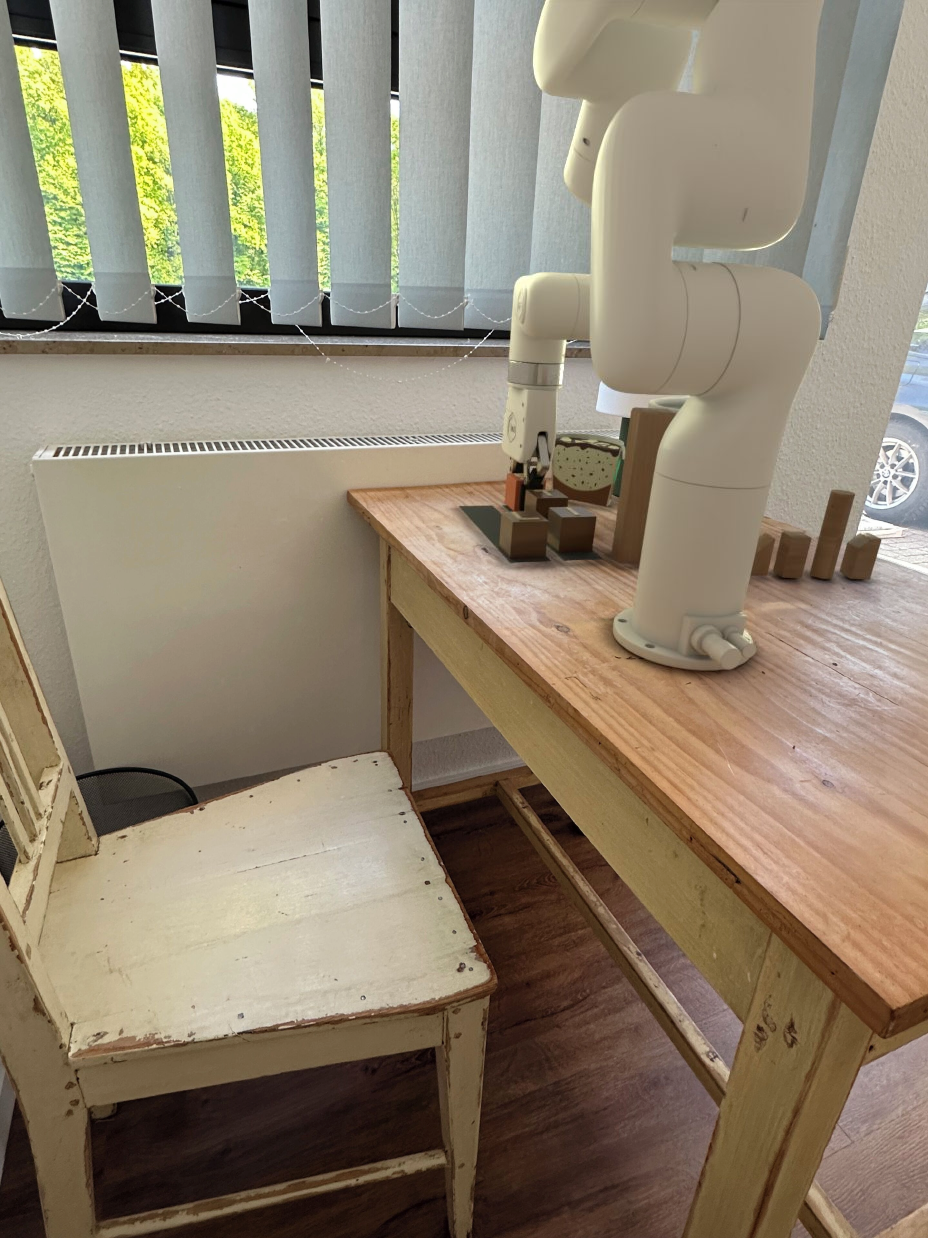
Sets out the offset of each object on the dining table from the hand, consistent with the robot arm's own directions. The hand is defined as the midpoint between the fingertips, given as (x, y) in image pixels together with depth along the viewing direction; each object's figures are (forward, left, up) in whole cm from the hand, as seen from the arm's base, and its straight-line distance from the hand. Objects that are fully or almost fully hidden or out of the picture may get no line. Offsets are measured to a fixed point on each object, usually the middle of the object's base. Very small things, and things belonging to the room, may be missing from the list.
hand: (524, 504), depth 105 cm
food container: (+6, -13, -1) cm, 14 cm away
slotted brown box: (-18, 0, -1) cm, 18 cm away
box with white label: (-19, +7, -1) cm, 20 cm away
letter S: (0, 0, 0) cm, 0 cm away
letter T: (-9, 0, -1) cm, 9 cm away
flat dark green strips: (-10, +3, -1) cm, 11 cm away
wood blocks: (-29, -21, -1) cm, 36 cm away
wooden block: (-23, -9, -1) cm, 25 cm away
